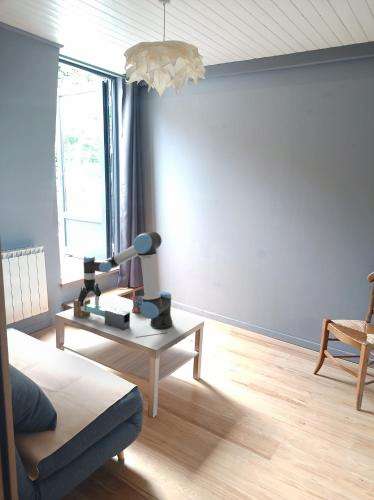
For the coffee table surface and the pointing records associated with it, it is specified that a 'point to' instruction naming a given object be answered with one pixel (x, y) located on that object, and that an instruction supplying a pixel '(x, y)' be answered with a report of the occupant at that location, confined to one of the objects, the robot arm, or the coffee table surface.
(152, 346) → the coffee table surface
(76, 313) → the socket
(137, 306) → the mug
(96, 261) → the robot arm
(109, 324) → the sleeve
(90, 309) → the teal square bar
